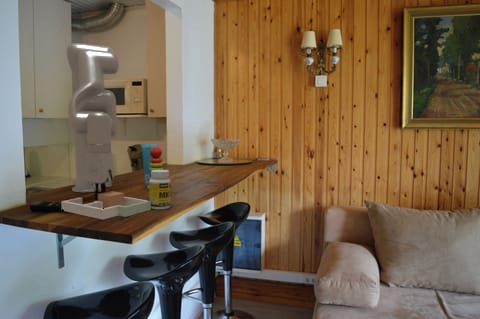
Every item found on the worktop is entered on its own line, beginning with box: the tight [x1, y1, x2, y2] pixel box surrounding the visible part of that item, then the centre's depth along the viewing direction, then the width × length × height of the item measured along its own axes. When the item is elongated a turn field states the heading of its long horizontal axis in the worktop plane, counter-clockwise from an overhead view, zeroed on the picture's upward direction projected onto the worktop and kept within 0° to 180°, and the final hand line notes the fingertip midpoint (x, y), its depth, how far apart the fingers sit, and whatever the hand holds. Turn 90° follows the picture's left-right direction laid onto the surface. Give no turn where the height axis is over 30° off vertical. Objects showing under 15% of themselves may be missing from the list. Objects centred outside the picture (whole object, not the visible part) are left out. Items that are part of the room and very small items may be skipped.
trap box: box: [61, 196, 152, 221], centre depth 121 cm, size 24×17×3 cm
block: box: [98, 190, 125, 208], centre depth 124 cm, size 6×6×5 cm
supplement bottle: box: [148, 169, 172, 210], centre depth 125 cm, size 7×7×13 cm
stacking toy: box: [147, 146, 164, 190], centre depth 158 cm, size 8×8×19 cm
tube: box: [140, 143, 159, 187], centre depth 168 cm, size 7×5×19 cm, turn 109°
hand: (100, 201), depth 126 cm, fingers closed
